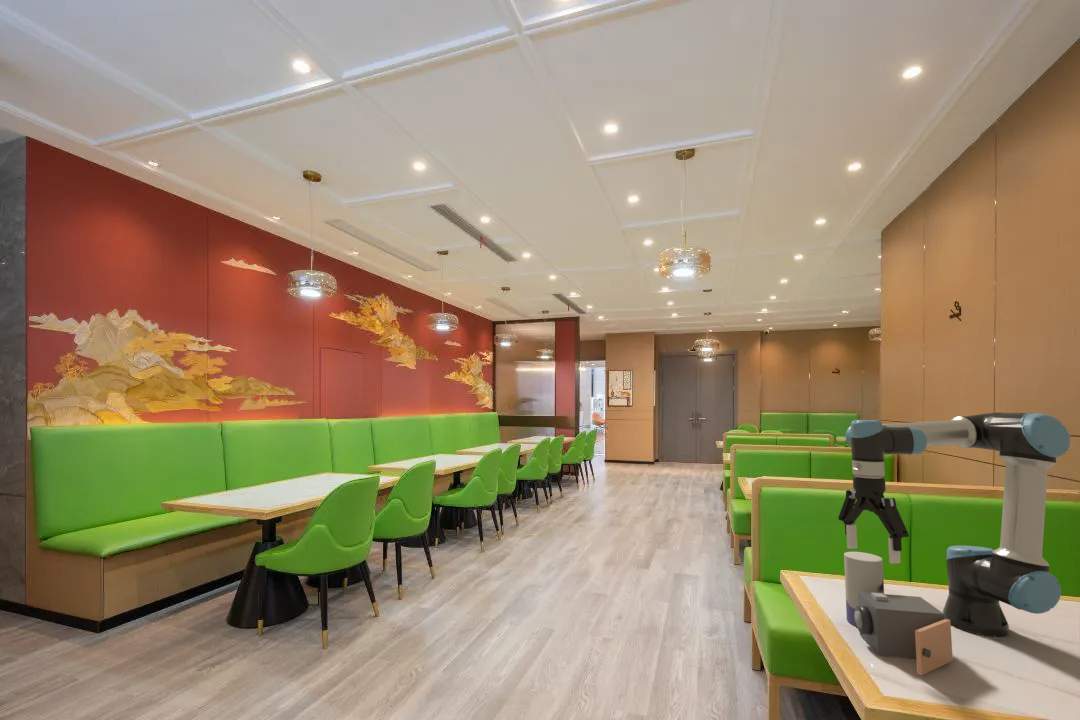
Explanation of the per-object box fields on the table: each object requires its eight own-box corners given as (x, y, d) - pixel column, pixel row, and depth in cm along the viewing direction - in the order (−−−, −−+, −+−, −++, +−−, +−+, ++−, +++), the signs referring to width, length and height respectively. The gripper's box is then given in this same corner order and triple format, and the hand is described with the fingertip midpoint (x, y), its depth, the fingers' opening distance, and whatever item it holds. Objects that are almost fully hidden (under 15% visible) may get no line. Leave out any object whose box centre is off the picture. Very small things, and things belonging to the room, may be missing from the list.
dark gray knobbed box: (922, 640, 142) (920, 593, 143) (947, 662, 131) (944, 610, 132) (850, 634, 146) (848, 587, 147) (867, 654, 134) (865, 603, 136)
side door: (948, 658, 130) (945, 618, 131) (957, 662, 129) (954, 621, 129) (917, 673, 123) (914, 630, 124) (926, 677, 122) (924, 633, 122)
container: (892, 632, 148) (888, 562, 149) (854, 629, 150) (851, 559, 151) (876, 618, 157) (873, 552, 159) (841, 615, 159) (838, 550, 161)
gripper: (822, 470, 151) (825, 543, 149) (898, 483, 127) (903, 571, 125) (844, 469, 152) (847, 541, 151) (922, 482, 128) (927, 569, 126)
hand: (872, 555), depth 138 cm, fingers open, 13 cm apart
